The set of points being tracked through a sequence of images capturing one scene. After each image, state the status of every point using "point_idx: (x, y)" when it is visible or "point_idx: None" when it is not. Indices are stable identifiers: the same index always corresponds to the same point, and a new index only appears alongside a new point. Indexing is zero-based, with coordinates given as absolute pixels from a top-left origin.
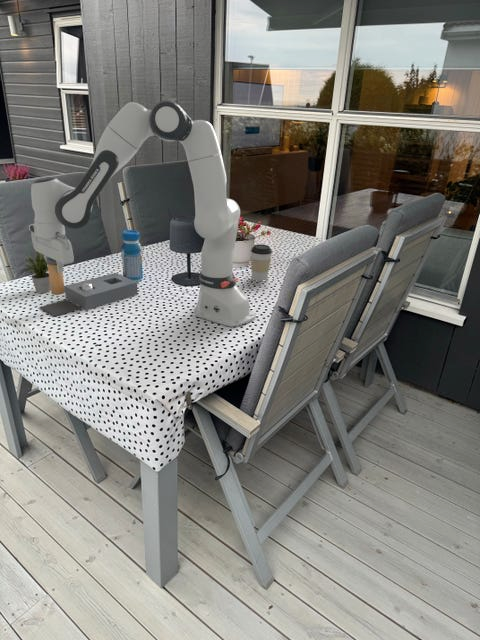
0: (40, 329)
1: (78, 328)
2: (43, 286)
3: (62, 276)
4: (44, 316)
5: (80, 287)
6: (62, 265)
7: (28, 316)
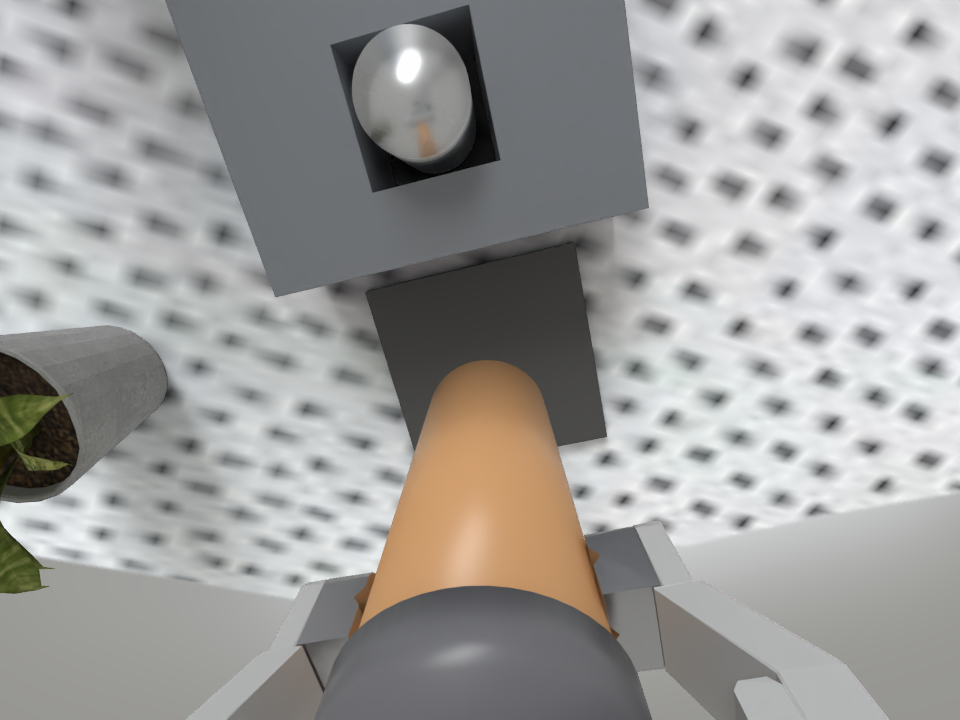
0: (720, 531)
1: (857, 357)
2: (134, 403)
3: (541, 454)
4: None
5: (366, 163)
6: (765, 639)
7: None
